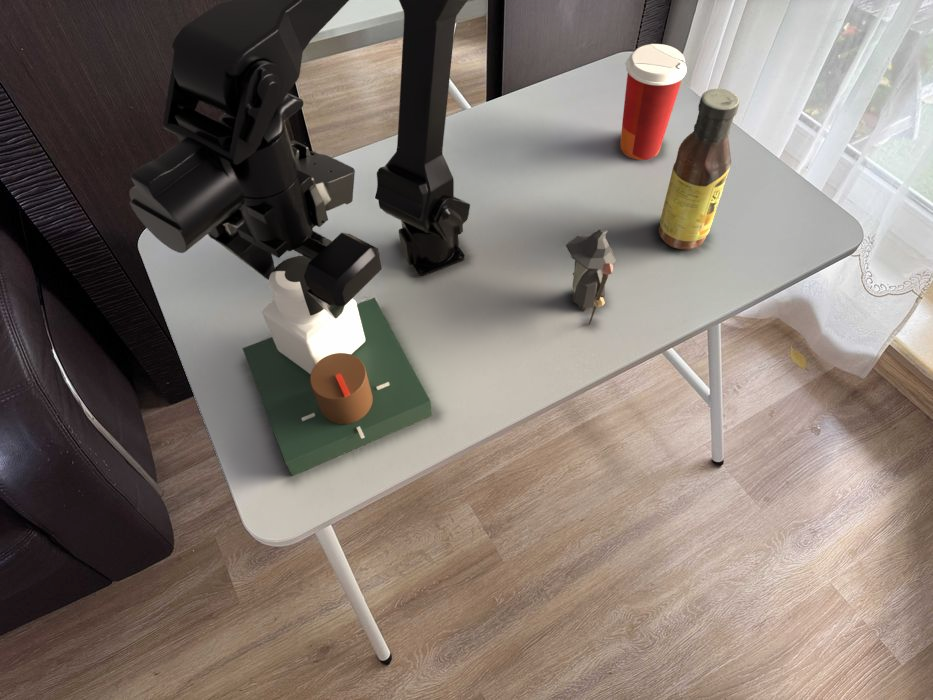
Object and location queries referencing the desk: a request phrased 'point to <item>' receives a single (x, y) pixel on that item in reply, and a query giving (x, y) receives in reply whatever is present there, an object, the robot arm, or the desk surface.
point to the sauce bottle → (699, 173)
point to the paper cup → (650, 98)
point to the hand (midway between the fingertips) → (303, 295)
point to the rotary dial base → (297, 409)
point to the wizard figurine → (590, 269)
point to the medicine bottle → (307, 319)
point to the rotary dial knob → (341, 388)
